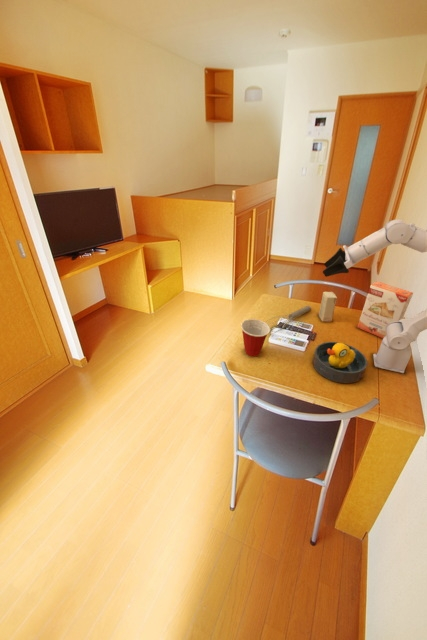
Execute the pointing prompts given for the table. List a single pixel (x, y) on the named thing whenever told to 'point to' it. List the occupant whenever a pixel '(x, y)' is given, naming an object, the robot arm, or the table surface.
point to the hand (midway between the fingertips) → (324, 270)
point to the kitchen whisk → (293, 315)
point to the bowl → (339, 374)
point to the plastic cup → (254, 335)
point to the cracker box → (383, 308)
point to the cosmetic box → (327, 306)
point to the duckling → (340, 355)
